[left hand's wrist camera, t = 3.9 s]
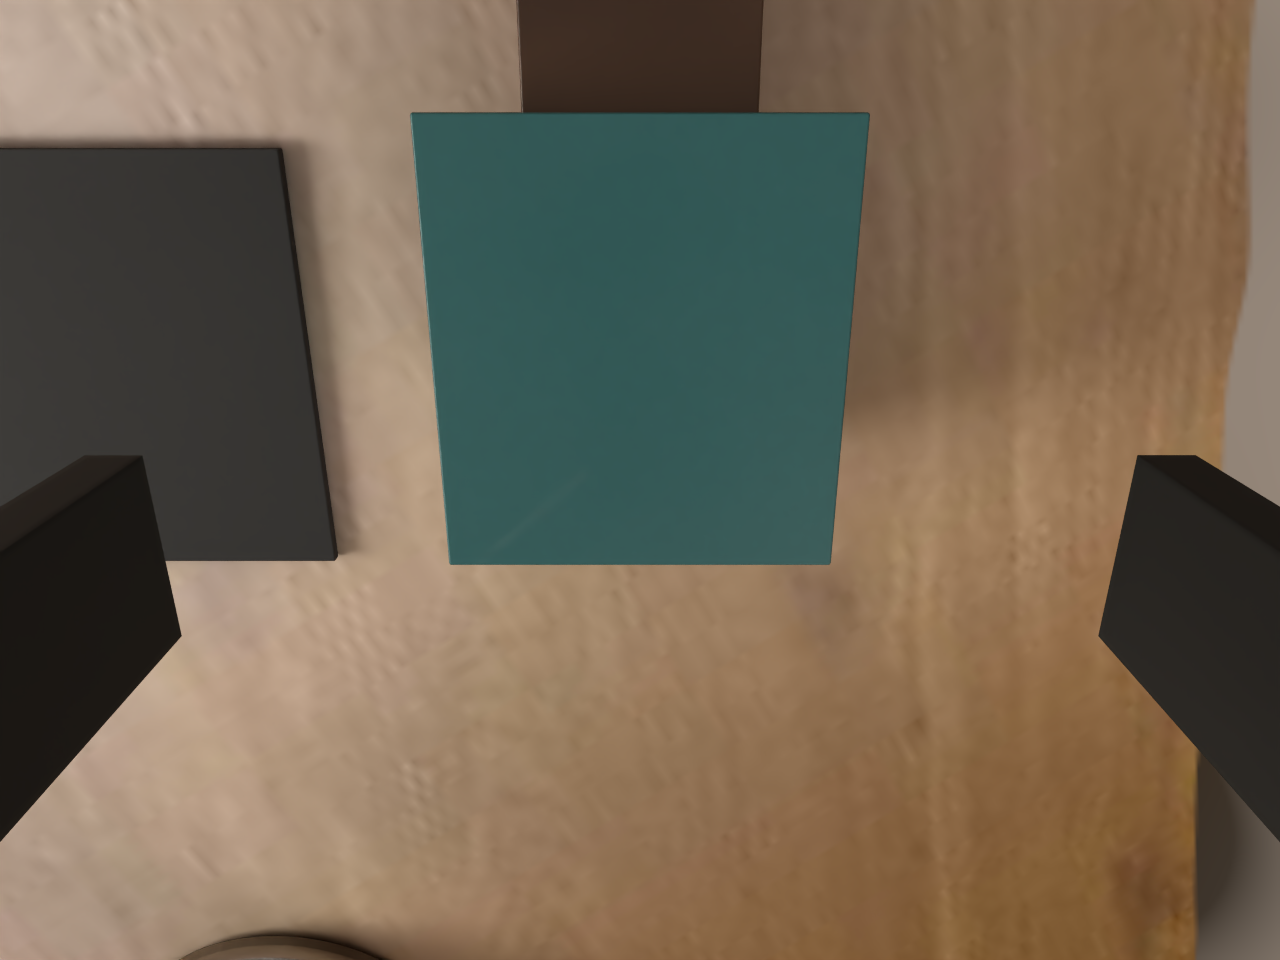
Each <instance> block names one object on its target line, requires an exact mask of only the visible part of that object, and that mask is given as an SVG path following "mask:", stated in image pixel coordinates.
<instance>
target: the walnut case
mask: <svg viewBox="0 0 1280 960" xmlns="http://www.w3.org/2000/svg"><path fill="white" fill-rule="evenodd" d="M516 1H517V23H518V45H519V68H520V90H521V112H759V90H760V68H761V46H762V24H763V1H764V0H516Z"/></svg>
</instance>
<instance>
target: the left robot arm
mask: <svg viewBox="0 0 1280 960" xmlns="http://www.w3.org/2000/svg"><path fill="white" fill-rule="evenodd" d="M180 637H181V631H180V626H179V622H178V617H177V613H176V608H175V603H174V599H173V594H172V589H171V585H170V580H169V576H168V571H167V566H166V562H165V557H164V552H163V548H162V543H161V539H160V534H159V529H158V525H157V520H156V516H155V511H154V506H153V502H152V497H151V492H150V488H149V483H148V479H147V474H146V469H145V465H144V460H143V456H142V455H84V456H82V457H81V458H79V459H77V460H76V461H74V462H73V463H71V464H69V465H68V466H66V467H64V468H63V469H61V470H59V471H58V472H56V473H55V474H53V475H51V476H50V477H48V478H46V479H45V480H43V481H41V482H40V483H38V484H37V485H35V486H33V487H32V488H30V489H28V490H27V491H25V492H23V493H22V494H20V495H19V496H17V497H15V498H14V499H12V500H10V501H9V502H7V503H5V504H4V505H2V506H1V507H0V842H1V840H2V839H3V838H4V837H5V836H6V835H7V834H8V832H9V831H10V830H11V829H12V828H13V827H14V826H15V824H16V823H17V822H18V821H19V820H20V819H21V818H22V817H23V815H24V814H25V813H26V812H27V811H28V810H29V809H30V807H31V806H32V805H33V804H34V803H35V802H36V801H37V800H38V798H39V797H40V796H41V795H42V794H43V793H44V792H45V790H46V789H47V788H48V787H49V786H50V785H51V784H52V783H53V781H54V780H55V779H56V778H57V777H58V776H59V775H60V773H61V772H62V771H63V770H64V769H65V768H66V767H67V765H68V764H69V763H70V762H71V761H72V760H73V759H74V758H75V756H76V755H77V754H78V753H79V752H80V751H81V750H82V748H83V747H84V746H85V745H86V744H87V743H88V742H89V741H90V739H91V738H92V737H93V736H94V735H95V734H96V733H97V731H98V730H99V729H100V728H101V727H102V726H103V725H104V724H105V722H106V721H107V720H108V719H109V718H110V717H111V716H112V714H113V713H114V712H115V711H116V710H117V709H118V708H119V706H120V705H121V704H122V703H123V702H124V701H125V700H126V699H127V697H128V696H129V695H130V694H131V693H132V692H133V691H134V689H135V688H136V687H137V686H138V685H139V684H140V683H141V682H142V680H143V679H144V678H145V677H146V676H147V675H148V674H149V672H150V671H151V670H152V669H153V668H154V667H155V666H156V665H157V663H158V662H159V661H160V660H161V659H162V658H163V657H164V655H165V654H166V653H167V652H168V651H169V650H170V649H171V647H172V646H173V645H174V644H175V643H176V642H177V641H178V640H179V638H180ZM1099 637H1100V638H1101V640H1102V641H1103V642H1104V643H1105V644H1106V645H1107V646H1108V647H1109V649H1110V650H1111V651H1112V652H1113V653H1114V654H1115V655H1116V657H1117V658H1118V659H1119V660H1120V661H1121V662H1122V663H1123V665H1124V666H1125V667H1126V668H1127V669H1128V670H1129V671H1130V672H1131V674H1132V675H1133V676H1134V677H1135V678H1136V679H1137V680H1138V682H1139V683H1140V684H1141V685H1142V686H1143V687H1144V688H1145V689H1146V691H1147V692H1148V693H1149V694H1150V695H1151V696H1152V697H1153V699H1154V700H1155V701H1156V702H1157V703H1158V704H1159V705H1160V706H1161V708H1162V709H1163V710H1164V711H1165V712H1166V713H1167V714H1168V716H1169V717H1170V718H1171V719H1172V720H1173V721H1174V722H1175V724H1176V725H1177V726H1178V727H1179V728H1180V729H1181V730H1182V731H1183V733H1184V734H1185V735H1186V736H1187V737H1188V738H1189V739H1190V741H1191V742H1192V743H1193V744H1194V745H1195V746H1196V747H1197V748H1198V750H1199V751H1200V752H1201V753H1202V754H1203V755H1204V756H1205V757H1206V759H1207V760H1208V761H1209V762H1210V763H1211V764H1212V765H1213V767H1214V768H1215V769H1216V770H1217V771H1218V772H1219V773H1220V775H1221V776H1222V777H1223V778H1224V779H1225V780H1226V781H1227V783H1228V784H1229V785H1230V786H1231V787H1232V788H1233V789H1234V790H1235V792H1236V793H1237V794H1238V795H1239V796H1240V797H1241V798H1242V799H1243V801H1244V802H1245V803H1246V804H1247V805H1248V806H1249V807H1250V809H1251V810H1252V811H1253V812H1254V813H1255V814H1256V815H1257V817H1258V818H1259V819H1260V820H1261V821H1262V822H1263V823H1264V824H1265V826H1266V827H1267V828H1268V829H1269V830H1270V831H1271V832H1272V834H1273V835H1274V836H1275V837H1276V838H1277V839H1278V840H1279V842H1280V507H1279V506H1278V505H1276V504H1275V503H1273V502H1271V501H1270V500H1268V499H1266V498H1265V497H1263V496H1261V495H1260V494H1258V493H1257V492H1255V491H1253V490H1252V489H1250V488H1248V487H1247V486H1245V485H1243V484H1242V483H1240V482H1239V481H1237V480H1235V479H1234V478H1232V477H1230V476H1229V475H1227V474H1225V473H1224V472H1222V471H1221V470H1219V469H1217V468H1216V467H1214V466H1212V465H1211V464H1209V463H1207V462H1206V461H1204V460H1203V459H1201V458H1199V457H1198V456H1196V455H1138V456H1137V460H1136V465H1135V469H1134V474H1133V479H1132V483H1131V488H1130V492H1129V497H1128V502H1127V506H1126V511H1125V516H1124V520H1123V525H1122V529H1121V534H1120V539H1119V543H1118V548H1117V552H1116V557H1115V562H1114V566H1113V571H1112V576H1111V580H1110V585H1109V589H1108V594H1107V599H1106V603H1105V608H1104V613H1103V617H1102V622H1101V626H1100V631H1099ZM180 960H378V959H376V958H374V957H372V956H370V955H367V954H365V953H362V952H360V951H357V950H354V949H351V948H348V947H345V946H342V945H338V944H334V943H330V942H326V941H321V940H315V939H310V938H301V937H292V936H257V937H248V938H240V939H235V940H230V941H225V942H221V943H217V944H214V945H210V946H208V947H205V948H202V949H200V950H197V951H195V952H193V953H191V954H189V955H187V956H185V957H183V958H181V959H180Z"/></svg>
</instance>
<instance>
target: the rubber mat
mask: <svg viewBox="0 0 1280 960" xmlns="http://www.w3.org/2000/svg"><path fill="white" fill-rule="evenodd" d="M84 455H142V456H143V460H144V465H145V469H146V474H147V479H148V483H149V488H150V492H151V497H152V502H153V506H154V511H155V516H156V520H157V525H158V529H159V534H160V539H161V543H162V548H163V552H164V557H165V561H335V560H336V558H337V557H338V552H337V545H336V538H335V530H334V523H333V516H332V509H331V501H330V494H329V487H328V480H327V472H326V465H325V458H324V450H323V443H322V436H321V429H320V421H319V414H318V407H317V400H316V392H315V385H314V378H313V370H312V363H311V356H310V349H309V341H308V334H307V327H306V320H305V312H304V305H303V298H302V290H301V283H300V276H299V269H298V261H297V254H296V247H295V240H294V232H293V225H292V218H291V210H290V203H289V196H288V189H287V181H286V174H285V167H284V160H283V152H282V149H281V148H0V507H1V506H2V505H4V504H5V503H7V502H9V501H10V500H12V499H14V498H15V497H17V496H19V495H20V494H22V493H23V492H25V491H27V490H28V489H30V488H32V487H33V486H35V485H37V484H38V483H40V482H41V481H43V480H45V479H46V478H48V477H50V476H51V475H53V474H55V473H56V472H58V471H59V470H61V469H63V468H64V467H66V466H68V465H69V464H71V463H73V462H74V461H76V460H77V459H79V458H81V457H82V456H84Z"/></svg>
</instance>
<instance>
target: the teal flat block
mask: <svg viewBox="0 0 1280 960" xmlns="http://www.w3.org/2000/svg"><path fill="white" fill-rule="evenodd" d="M410 118H411V130H412V141H413V153H414V164H415V175H416V187H417V198H418V210H419V221H420V233H421V244H422V256H423V267H424V278H425V290H426V301H427V313H428V324H429V336H430V347H431V358H432V370H433V381H434V393H435V404H436V416H437V427H438V439H439V450H440V461H441V473H442V484H443V496H444V507H445V519H446V530H447V542H448V553H449V563H450V564H451V565H829V564H830V563H831V553H832V542H833V530H834V519H835V507H836V496H837V485H838V473H839V462H840V450H841V439H842V427H843V416H844V404H845V393H846V382H847V370H848V359H849V347H850V336H851V324H852V313H853V302H854V290H855V279H856V267H857V256H858V244H859V233H860V221H861V210H862V199H863V187H864V176H865V164H866V153H867V141H868V130H869V118H870V114H869V113H868V112H412V113H411V114H410Z"/></svg>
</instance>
